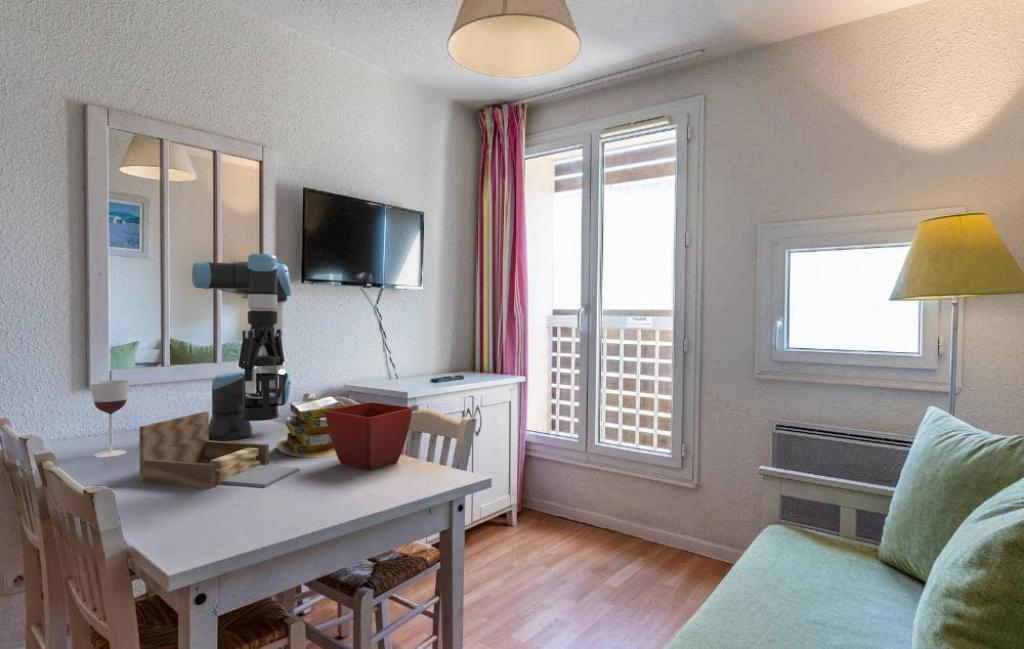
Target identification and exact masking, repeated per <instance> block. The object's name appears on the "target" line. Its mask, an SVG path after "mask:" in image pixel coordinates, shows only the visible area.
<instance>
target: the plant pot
mask: <svg viewBox="0 0 1024 649" xmlns="http://www.w3.org/2000/svg"><path fill="white" fill-rule="evenodd" d="M345 406H346V407H340V408H335V409H330V410H325V415H326V421H327V425H328V429H329V433H330V437H331V440H332V443H333V446H334V449H335V452H336V456H337V459H338V461H339V464H340V465H342V466H345V467H346V466H347V467H351V468H354V469H355V468H356V469H360V470H363V471H372V470H376V469H378V468H381V467H384V466H387V465H391V464H393V463H396V462H398V461H399V459H400V458H401V454H402V451H403V449H404V446H405V443H406V440H407V436H408V432H409V429H410V425H411V420H412V416H413V415H412V414H413V407H409V406H403V405H402V406H401V405H396V404H389V403H382V402H381V403H380V402H374V401H368V402H362V403H359V404H358V403H356V404H352V405H345Z"/></svg>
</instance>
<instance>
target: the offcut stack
mask: <svg viewBox="0 0 1024 649" xmlns="http://www.w3.org/2000/svg"><path fill="white" fill-rule="evenodd" d="M257 455H258V448H245V449H242V450H239V451H237V452H234V453H231V454H228V455H225V456H222V457H219V458H216V459H213V460H210V461H209V464H215V486H219V485H223V484H222V481H223V480H225V479H228V478H230V477H232V476H235V475H237V474H240V473H242V472H244V471H247V470H249V469H252V468H254V467H256V466H259V461H256V456H257Z"/></svg>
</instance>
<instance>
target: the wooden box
mask: <svg viewBox="0 0 1024 649" xmlns="http://www.w3.org/2000/svg"><path fill="white" fill-rule="evenodd" d="M209 414H210V413H209V411H201V412H197V413H192V414H188V415H184V416H180V417H176V418H172V419H167V420H163V421H159V422H154V423H150V424H146V425H142V426H139V483H142V484H143V483H145V484H155V485H166V486H178V487H179V486H180V487H191V488H202V489H203V488H204V489H213V488H215V487H216V485H215V464H210V463H206V462H210V460H213V459H216V458H219V457H222V456H225V455H228V454H231V453H234V452H237V451H239V450H242V449H245V448H258V455H257V456H256V461H259V465H268V466H269V463H270V462H269V459H270V458H269V457H270V456H269V454H270V453H269V452H270V450H269V448H270V447H269V446H270V445H269V443H268V444H266V443H255V442H239V441H238V442H237V441H225V440H210V439H209V424H210V420H209V419H210V418H209V416H210V415H209Z"/></svg>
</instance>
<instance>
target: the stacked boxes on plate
mask: <svg viewBox="0 0 1024 649" xmlns="http://www.w3.org/2000/svg"><path fill="white" fill-rule="evenodd" d="M346 406H347V405H346V404H344V402H343V400H338V399H336V398H335V397H333V396H327V397H323V398H317V399H309V400H305V401H304V400H301V401H293V402H291V403H290V412H291V413H293V414H295V416H294V415H288V414H285V426H286V428H287V429H288V431H289V432H288V433H287V435H285V436H283V437H281V439H279V440H278V441H277V443H276V448H277V449H278V450H279V451H280V452H282V453H284V454H286V455H288V456H293V457H300V458H321V457H328V456H329V457H330V456H335V455H336V456H337V454H336V452H335V449H334V446H333V443H332V440H331V437H330V433H329V429H328V425H327V421H326V415H325V410H330V409H335V408H340V407H346Z"/></svg>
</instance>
